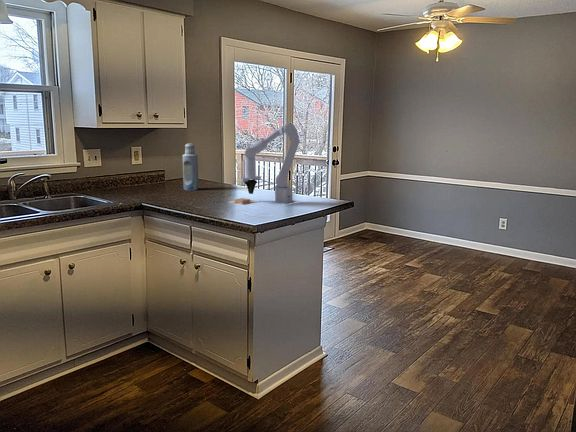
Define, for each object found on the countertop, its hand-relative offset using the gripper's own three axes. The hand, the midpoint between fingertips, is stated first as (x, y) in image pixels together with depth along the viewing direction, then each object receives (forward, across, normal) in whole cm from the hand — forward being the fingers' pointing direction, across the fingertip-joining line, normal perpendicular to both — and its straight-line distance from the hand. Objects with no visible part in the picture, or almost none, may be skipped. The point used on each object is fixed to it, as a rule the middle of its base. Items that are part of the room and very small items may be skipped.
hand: (250, 193), depth 274 cm
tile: (+3, +4, 0) cm, 5 cm away
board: (+5, +5, -1) cm, 7 cm away
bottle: (+5, -10, -64) cm, 65 cm away
